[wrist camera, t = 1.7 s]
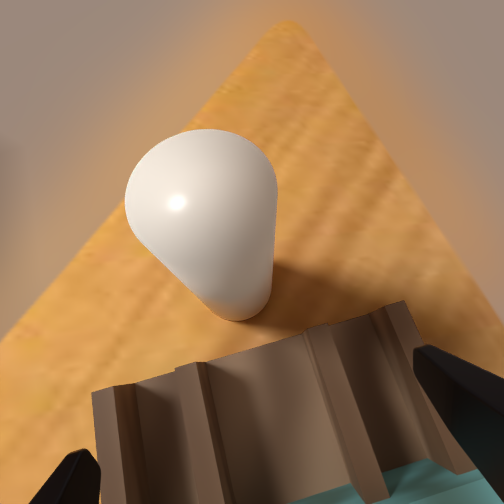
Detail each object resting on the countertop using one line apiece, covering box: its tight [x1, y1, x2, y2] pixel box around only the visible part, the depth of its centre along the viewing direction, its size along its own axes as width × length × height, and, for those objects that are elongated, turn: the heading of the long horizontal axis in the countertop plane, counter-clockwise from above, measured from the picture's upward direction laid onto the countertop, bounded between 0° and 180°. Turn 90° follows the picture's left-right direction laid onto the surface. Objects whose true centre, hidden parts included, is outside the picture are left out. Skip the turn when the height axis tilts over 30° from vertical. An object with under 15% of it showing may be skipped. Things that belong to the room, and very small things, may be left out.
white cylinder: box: [125, 129, 278, 321], centre depth 16 cm, size 5×5×13 cm
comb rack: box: [91, 300, 504, 504], centre depth 16 cm, size 20×14×5 cm
